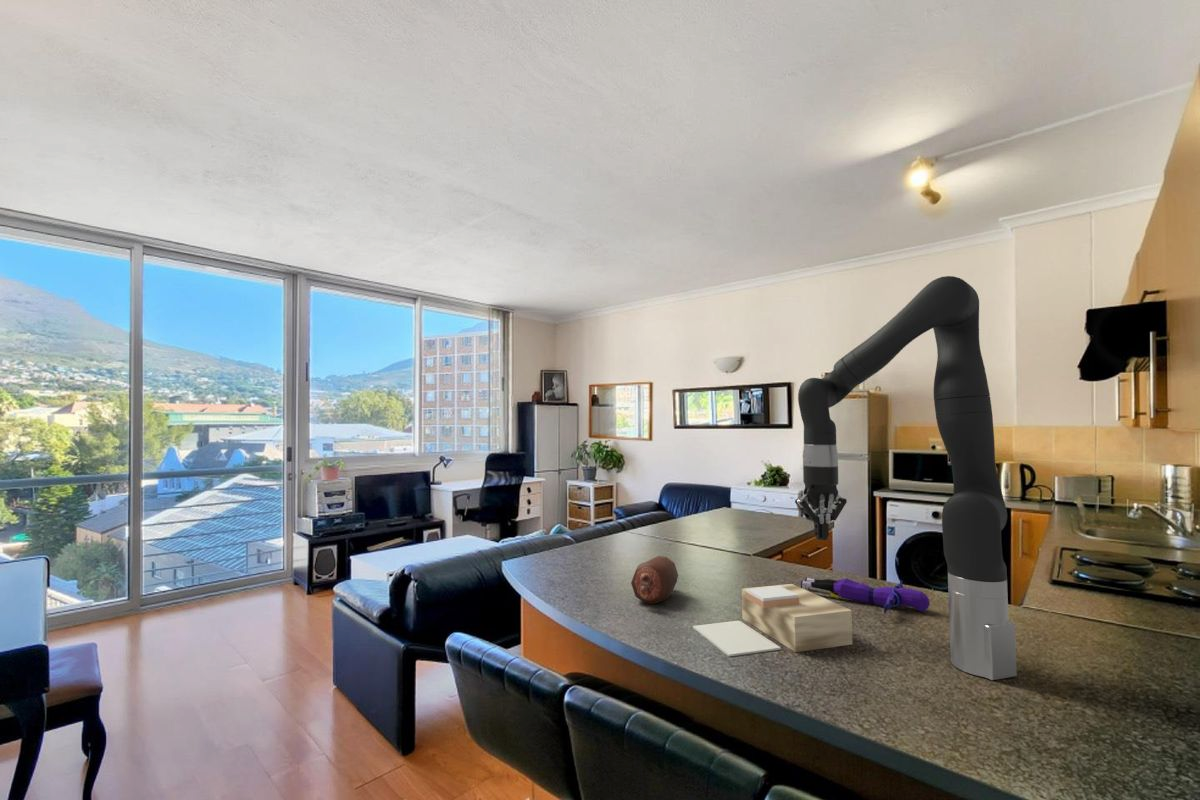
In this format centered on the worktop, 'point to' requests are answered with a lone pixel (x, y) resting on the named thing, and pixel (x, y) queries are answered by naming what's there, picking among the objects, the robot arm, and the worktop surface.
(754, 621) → the block
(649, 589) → the meat
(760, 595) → the tile
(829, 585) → the toy
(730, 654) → the mat
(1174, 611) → the worktop surface
